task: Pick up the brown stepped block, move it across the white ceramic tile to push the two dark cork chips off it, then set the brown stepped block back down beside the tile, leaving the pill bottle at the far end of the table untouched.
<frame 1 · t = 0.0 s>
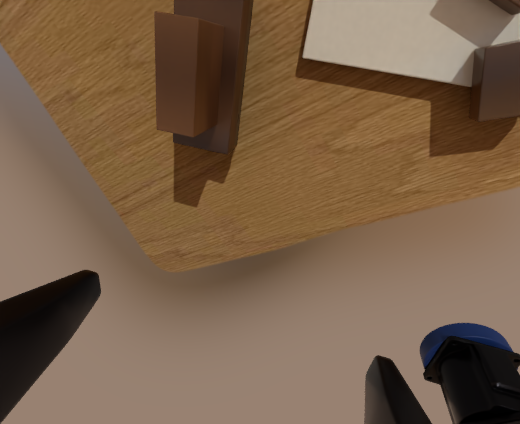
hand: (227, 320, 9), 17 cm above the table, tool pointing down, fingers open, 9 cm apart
brown stepped block: (219, 74, 22), on the table
chip a: (509, 78, 18), point 1 cm above the table, touching tile
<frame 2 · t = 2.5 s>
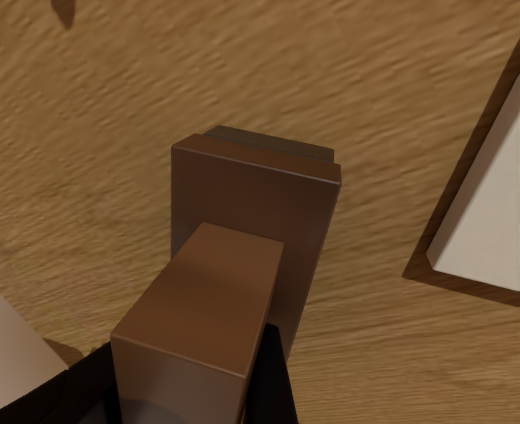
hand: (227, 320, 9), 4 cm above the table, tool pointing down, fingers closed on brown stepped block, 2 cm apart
brown stepped block: (254, 255, 12), on the table, touching gripper
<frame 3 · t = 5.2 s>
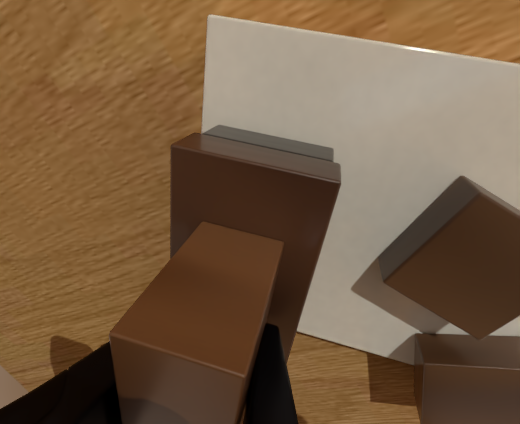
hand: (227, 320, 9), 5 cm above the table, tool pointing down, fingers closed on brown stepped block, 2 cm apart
brown stepped block: (254, 255, 12), point 1 cm above the table, touching gripper
tile: (425, 235, 11), on the table
chip b: (462, 248, 10), point 1 cm above the table, touching tile
chip a: (465, 367, 13), point 1 cm above the table, touching tile
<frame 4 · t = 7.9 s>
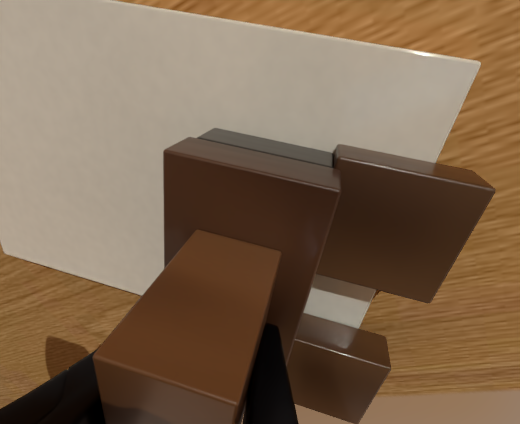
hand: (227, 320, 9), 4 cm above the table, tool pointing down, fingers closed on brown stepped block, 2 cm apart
brown stepped block: (251, 260, 12), point 1 cm above the table, touching chip a, gripper
tile: (171, 182, 12), on the table
chip b: (381, 213, 10), point 1 cm above the table, touching tile
chip a: (325, 352, 13), point 1 cm above the table, touching brown stepped block
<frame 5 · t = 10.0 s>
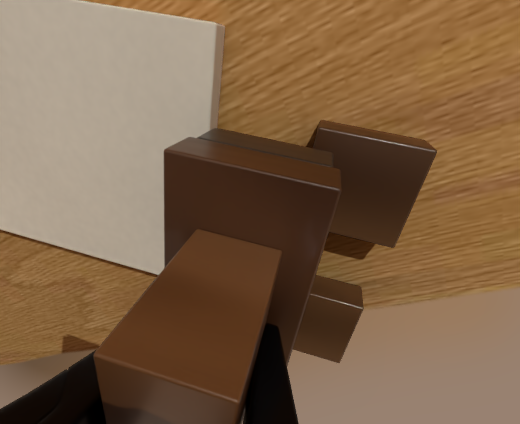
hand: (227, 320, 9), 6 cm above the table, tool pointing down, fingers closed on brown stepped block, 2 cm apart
brown stepped block: (251, 261, 12), point 3 cm above the table, touching gripper
tile: (44, 137, 15), on the table
chip b: (356, 177, 12), on the table
chip a: (312, 304, 16), on the table
when the fingers open (3 cm above the table, at t = 14.5 s): brown stepped block stays where it is, on the table.
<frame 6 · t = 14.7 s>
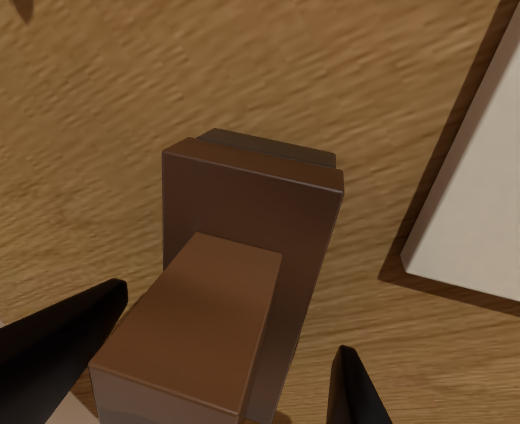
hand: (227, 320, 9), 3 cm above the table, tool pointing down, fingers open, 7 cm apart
brown stepped block: (252, 263, 12), on the table
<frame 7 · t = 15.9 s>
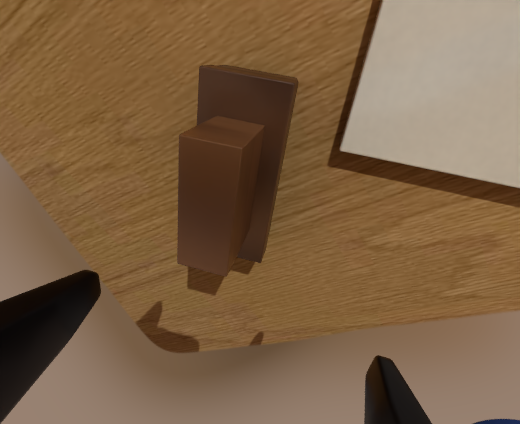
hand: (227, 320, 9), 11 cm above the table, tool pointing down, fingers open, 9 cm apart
brown stepped block: (248, 161, 18), on the table
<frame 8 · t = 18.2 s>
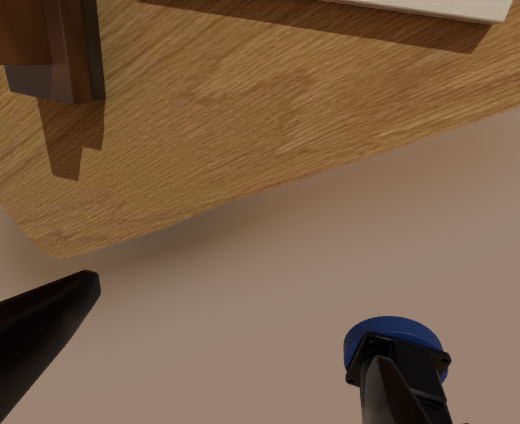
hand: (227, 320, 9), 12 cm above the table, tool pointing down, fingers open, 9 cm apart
brown stepped block: (67, 5, 18), on the table
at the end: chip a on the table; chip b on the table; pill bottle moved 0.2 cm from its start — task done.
